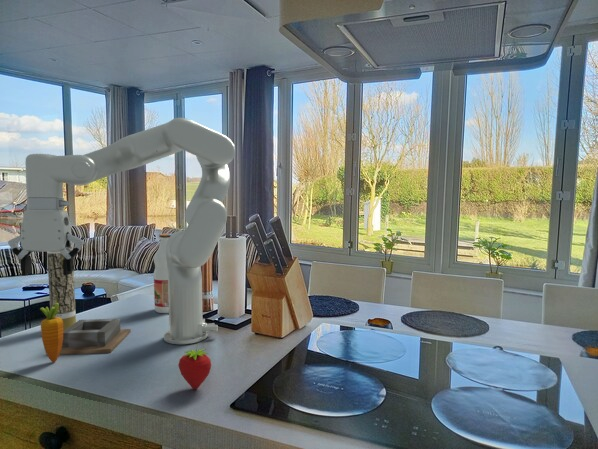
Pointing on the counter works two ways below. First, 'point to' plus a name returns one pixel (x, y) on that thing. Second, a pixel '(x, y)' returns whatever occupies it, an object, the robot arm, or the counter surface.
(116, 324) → the docking stand
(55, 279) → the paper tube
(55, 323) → the carrot
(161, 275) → the fruit juice
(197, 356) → the strawberry
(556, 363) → the counter surface
